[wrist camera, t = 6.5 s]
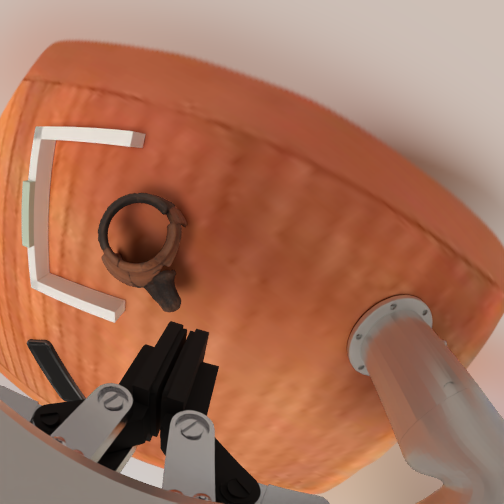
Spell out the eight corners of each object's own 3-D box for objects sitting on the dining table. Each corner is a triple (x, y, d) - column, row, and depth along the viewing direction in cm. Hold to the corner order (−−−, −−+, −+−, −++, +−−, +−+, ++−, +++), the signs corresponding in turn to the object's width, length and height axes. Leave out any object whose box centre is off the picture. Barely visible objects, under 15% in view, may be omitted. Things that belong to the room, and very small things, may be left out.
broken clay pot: (100, 239, 29) (73, 220, 21) (164, 196, 31) (156, 164, 23) (153, 326, 28) (139, 336, 20) (220, 279, 31) (229, 273, 23)
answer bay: (145, 134, 24) (128, 130, 20) (125, 310, 31) (111, 327, 27) (51, 127, 24) (30, 126, 20) (43, 279, 30) (27, 290, 26)
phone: (47, 342, 33) (87, 405, 37) (51, 339, 34) (89, 402, 38) (24, 341, 34) (62, 400, 38) (28, 338, 35) (64, 397, 39)
